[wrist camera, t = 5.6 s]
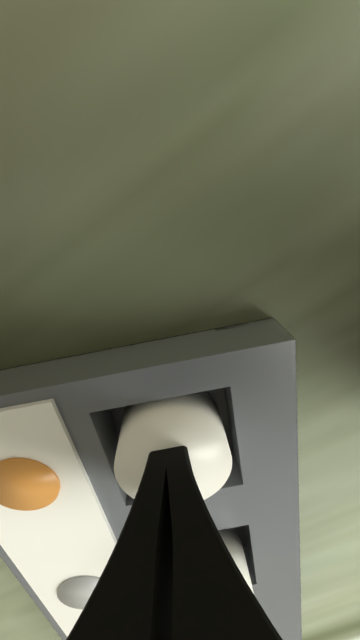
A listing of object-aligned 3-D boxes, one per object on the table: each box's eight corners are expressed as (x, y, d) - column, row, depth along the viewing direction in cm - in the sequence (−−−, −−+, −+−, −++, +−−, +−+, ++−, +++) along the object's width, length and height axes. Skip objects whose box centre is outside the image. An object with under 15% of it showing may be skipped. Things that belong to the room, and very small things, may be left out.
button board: (273, 318, 11) (300, 343, 9) (289, 612, 20) (304, 660, 18) (-61, 381, 11) (-114, 422, 9) (104, 645, 20) (97, 696, 18)
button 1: (212, 372, 11) (224, 411, 9) (225, 448, 13) (238, 496, 11) (111, 391, 12) (98, 435, 9) (136, 464, 13) (130, 516, 11)
